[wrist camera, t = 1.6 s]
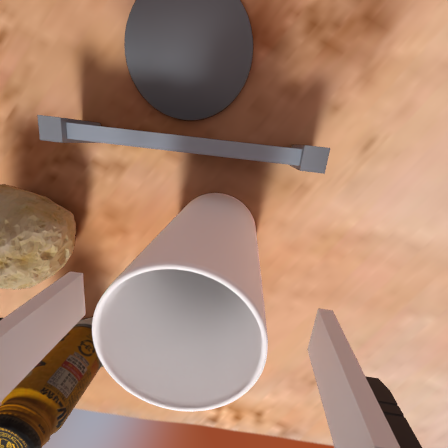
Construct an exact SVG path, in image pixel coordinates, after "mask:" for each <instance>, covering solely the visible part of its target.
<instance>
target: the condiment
mask: <svg viewBox="0 0 448 448" xmlns="http://www.w3.org/2000/svg"><path fill="white" fill-rule="evenodd" d="M92 321H93V317H91V318H87V319H82V320H80V321H79V322H78V323H77V324H76V325H75V326H74V327H73V328H72V329H71V330H70V331H69V332H68V333H67V334H66V335H65V336H64V337H63V338H62V339H61V340H60V341H59V342H58V343H57V345H56V346H55V347H54V348H53V349H52V350H51V351H50V352H49V353H48V354H47V355H46V356H45V357H44V358H43V359H42V360H41V361H40V362H39V363H38V364H37V365H36V366H35V367H34V368H33V369H32V370H31V371H30V372H29V373H28V375H27V376H26V377H25V378H24V379H23V380H22V381H21V382H20V383H19V384H18V385H17V386H16V387H15V388H14V389H13V390H12V391H11V392H10V393H9V394H8V395H7V396H6V397H5V398H4V399H3V401H2V405H1V406H0V448H42V446H43V445H44V444H45V443H46V442H48V440H49V439H50V436H51V435H52V434H53V433H55V432H56V431H58V430H59V429H60V428H61V426H62V425H63V424H64V422H65V421H66V419H67V417H68V416H69V415H70V413H71V411H72V410H73V408H74V407H75V405H76V404H77V402H78V401H79V399H80V398H81V396H82V395H83V393H84V392H85V390H86V389H87V387H88V386H89V384H90V382H91V381H92V379H93V378H94V376H95V375H96V373H97V372H98V370H99V369H100V367H104V366H103V365H102V363H101V361H100V359H99V357H98V355H97V353H96V350H95V347H94V343H93V338H92Z"/></svg>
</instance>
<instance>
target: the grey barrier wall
mask: <svg viewBox="0 0 448 448" xmlns="http://www.w3.org/2000/svg"><path fill="white" fill-rule="evenodd" d="M37 116H38V126H39V135H40V140H44V141H53V142H61V143H109V144H117V145H126V146H134V147H143V148H151V149H160V150H168V151H177V152H186V153H194V154H203V155H211V156H220V157H228V158H237V159H246V160H254V161H263V162H271V163H280V164H288V165H290V166H292V167H294V168H296V169H298V170H300V171H308V172H316V173H325V170H326V165H327V161H328V156H329V152H330V148H325V147H316V146H307V145H292V147H291V148H286V147H277V146H269V145H260V144H251V143H242V142H234V141H225V140H216V139H207V138H198V137H190V136H181V135H172V134H163V133H155V132H146V131H137V130H128V129H119V128H111V127H102V126H101V123H97V122H89V121H82V120H75V119H67V118H60V117H51V116H42V115H37Z"/></svg>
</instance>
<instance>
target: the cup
mask: <svg viewBox="0 0 448 448" xmlns="http://www.w3.org/2000/svg"><path fill="white" fill-rule="evenodd" d="M92 338H93V343H94V347H95V350H96V353H97V355H98V357H99V359H100V361H101V363H102V365H103V366H104V368H105V369H106V371H107V372H108V373H109V374H110V376H111V377H112V378H113V379H114V380H115V381H116V382H117V383H118V384H119V385H120V386H122V387H123V388H124V389H125V390H127V391H128V392H130V393H131V394H133V395H134V396H136V397H138V398H140V399H141V400H143V401H146V402H148V403H150V404H153V405H156V406H159V407H162V408H166V409H171V410H177V411H204V410H210V409H214V408H218V407H221V406H224V405H226V404H229V403H231V402H233V401H235V400H236V399H238V398H240V397H241V396H242V395H244V394H245V393H246V392H247V391H248V390H249V389H250V388H251V387H252V386H253V385H254V384H255V383H256V381H257V380H258V378H259V377H260V375H261V373H262V371H263V368H264V366H265V362H266V357H267V346H268V337H267V327H266V317H265V308H264V298H263V289H262V280H261V271H260V262H259V253H258V243H257V234H256V226H255V221H254V219H253V216H252V214H251V212H250V211H249V209H248V208H247V207H246V206H245V205H244V204H243V203H242V202H241V201H239V200H238V199H236V198H234V197H232V196H230V195H227V194H222V193H208V194H204V195H201V196H199V197H197V198H195V199H193V200H192V201H191V202H189V203H188V204H187V205H186V206H185V207H184V208H183V209H182V211H181V212H180V213H179V214H178V215H177V216H176V217H175V218H174V219H173V220H172V221H171V222H170V223H169V224H168V225H167V226H166V227H165V228H164V229H163V230H162V231H161V232H160V233H159V234H158V236H157V237H156V238H155V239H154V240H153V241H152V242H151V243H150V244H149V245H148V246H147V247H146V248H145V249H144V250H143V251H142V252H141V253H140V254H139V255H138V256H137V257H136V258H135V259H134V261H133V262H132V263H131V264H130V265H129V266H128V267H127V268H126V269H125V270H124V271H123V272H122V273H121V274H120V275H119V276H118V277H117V278H116V279H115V280H114V282H113V283H112V284H111V285H110V286H109V287H108V288H107V290H106V291H105V292H104V294H103V295H102V297H101V298H100V300H99V302H98V304H97V306H96V309H95V311H94V315H93V321H92Z"/></svg>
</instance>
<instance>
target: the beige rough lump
mask: <svg viewBox="0 0 448 448" xmlns="http://www.w3.org/2000/svg"><path fill="white" fill-rule="evenodd" d="M75 234H76V223H75V220H74V215H73V214H72V212H70V211H68V210H66V209H65V208H64V207H62V206H60V205H58V204H56V203H54V202H53V201H51V200H50V199H49V198H48V197H45V196H42V195H38V194H36V193H32V192H30V191H26V190H22V189H20V188H16V187H13V186H9V185H5V184H2V185H0V288H4V289H23V288H30V287H33V286H35V285H37V284H38V283H40V282H42V281H43V280H45V279H48V278H49V277H51V276H53V275H54V274H55V273H56V272H57V271H59V270H60V269H61V268H62V267H64V265H65V264H66V263H67V261H68V259H69V258H70V256H71V255H72V252H73V251H74V246H75V243H74V242H75V239H76V238H75Z"/></svg>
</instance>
